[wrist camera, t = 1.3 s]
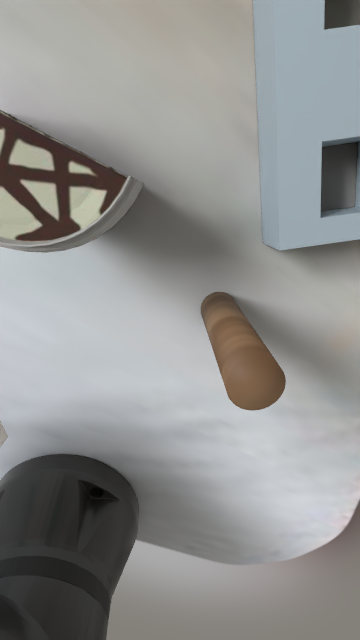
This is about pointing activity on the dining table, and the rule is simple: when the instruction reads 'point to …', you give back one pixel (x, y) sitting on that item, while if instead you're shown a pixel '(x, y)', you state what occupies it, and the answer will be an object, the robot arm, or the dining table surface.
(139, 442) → the dining table surface
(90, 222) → the food container
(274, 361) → the peg
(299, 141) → the hole block
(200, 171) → the dining table surface
